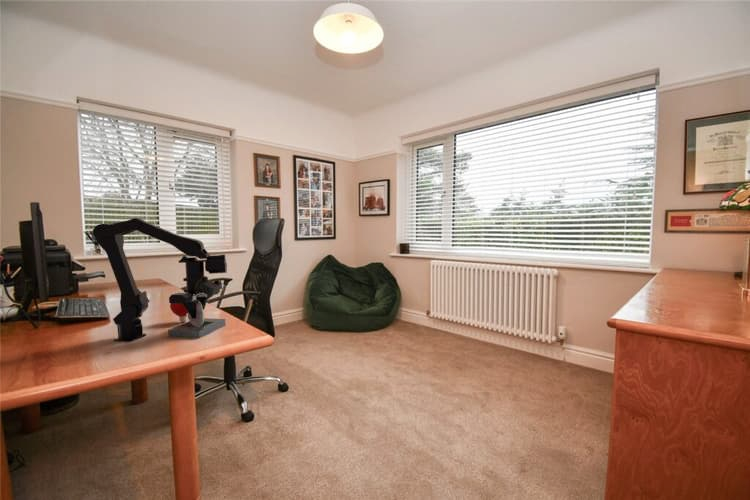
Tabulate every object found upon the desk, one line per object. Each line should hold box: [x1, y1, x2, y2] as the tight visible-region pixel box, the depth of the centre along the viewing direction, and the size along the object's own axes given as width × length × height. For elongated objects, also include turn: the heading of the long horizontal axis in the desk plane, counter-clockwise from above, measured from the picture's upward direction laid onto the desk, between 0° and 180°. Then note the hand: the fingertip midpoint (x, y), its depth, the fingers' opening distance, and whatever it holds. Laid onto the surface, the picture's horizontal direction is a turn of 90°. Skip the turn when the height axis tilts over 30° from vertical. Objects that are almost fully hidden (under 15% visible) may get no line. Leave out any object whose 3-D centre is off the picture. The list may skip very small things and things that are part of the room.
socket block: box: [167, 317, 226, 339], centre depth 114 cm, size 12×14×2 cm
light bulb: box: [169, 303, 188, 324], centre depth 124 cm, size 9×7×10 cm
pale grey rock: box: [187, 302, 205, 327], centre depth 113 cm, size 6×4×10 cm, turn 81°
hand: (197, 317), depth 113 cm, fingers closed on pale grey rock, 3 cm apart
